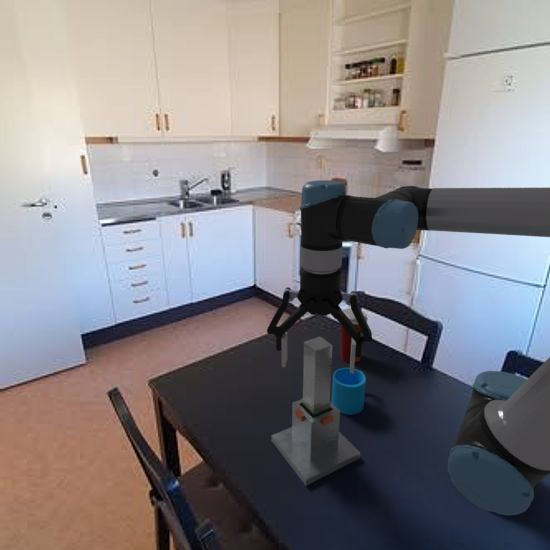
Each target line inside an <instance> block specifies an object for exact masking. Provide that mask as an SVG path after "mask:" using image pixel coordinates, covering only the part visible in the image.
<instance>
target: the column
mask: <svg viewBox="0 0 550 550" xmlns="http://www.w3.org/2000/svg"><path fill="white" fill-rule="evenodd" d="M332 358H333V345H332V343H330V342H328V340H326V339H325V338H323V337H322V336H317V337H315V338H312V339H308V340H305V341H303V371H302V372H303V375H302V376H303V380H302V381H303V383H302V398H301V399H302V404H303V409H304V410H305V411H306V412H307V413H308V414H309V415H310V416H311V417H312V418H315V417H317V416H320V415H322V414H324V413H327V412H329V408H330V405H331V403H332V402H331V382H332V361H333V360H332ZM330 402H331V403H330Z"/></svg>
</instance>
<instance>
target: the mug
mask: <svg viewBox="0 0 550 550" xmlns="http://www.w3.org/2000/svg"><path fill="white" fill-rule="evenodd" d="M366 379H367V377H366V373H365V372H364V371H362V370H359V369H356V368H354V374H353V373H350V367H342V368H338V369H337V370H335V371H334V373H333V374H332V387H331V403H332V404H333V405H334V406H335V407H337V408H338V409H339V410H340V414H343V415H349V416H350V415H356V414H359V413H361V412H362V411H363V409H364V405H365V394H366V384H367V383H366Z"/></svg>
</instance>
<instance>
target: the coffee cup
mask: <svg viewBox="0 0 550 550" xmlns="http://www.w3.org/2000/svg"><path fill="white" fill-rule="evenodd" d="M342 311H343V312H344V314H345V315H346V316H347V317H348V318H349V319H350V321H351V322H352V323H353V324H354V325H355V327H356V328H357V329H358V330H359V331H360V332H361V333H362V331H361V329H360V327H359V325H358V322H357V320H356V318H355V316H354V314H353V312H352V310H351V308H346V309H342ZM361 311H362V313H363V315H364V317H365V319H366V321H368V317H367V313H366V312H365V311H364V310H362V309H361ZM339 324H340V323H339ZM339 327H340V329H339V331H340V358H341V360H342V361H344V362H347V363H349V364H350V359H351V343H352V337H351V336H350V335H349V333H348V332H347V331H346V330H345V329H344V328H343V326H342V325H341V324H340V326H339ZM363 344H364V342H363V343H362V347H364V345H363ZM362 351H363V349H362V350H361V354H362ZM361 357H362V355H361V356H360V357H355V363H357V362H360V360H361Z"/></svg>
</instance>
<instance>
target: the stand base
mask: <svg viewBox="0 0 550 550" xmlns="http://www.w3.org/2000/svg"><path fill="white" fill-rule="evenodd" d="M330 403H331V405H330V408H329V412H327V413H324V414H322V415H320V416H317V417H315V418H312V417H311V416H310V415H309V414H308V413H307V412H306V411H305V410H304V409H303V404H302V398H300V399H298V400H295V401H293V402H292V404H291V405H292V409H291V410H292V411H291V412H292V413H291V414H292V416H291V420H292V421H291V422H292V423H291V427H288V428H287V429H284V430H282V431H281V430H280V431H279V432H277V433H274V434H272V435H271V438H270V439H271V443H272V444H273V445H274V446H275V448H277V450H278V452H279V453H280V454H281V455H282V457H283V458H284V460H285V461H286V462H287V463H288V465H289V466H290V467H291V468H292V470H293V471H294V472H295V474H296V475H297V477H298V478H299V479H300V481H302V483H303V484H304V486H306V487H307V486H309V485H310V484H313V483H314V482H316V481H319V480H321V479H322V478H324V477H326V476H329V475H330V474H332V473H334V472H335V471H338V470H339V469H342V468H344V467H345V466H348V465H350V464H351V463H354V462H355V461H358V460H360V458H361V452H360V451H359V450H358V449H357V448H356V447H355V446H354V444H353V443H351V442H350V441H349V440H348V439H347V438H346V436H344V435H343V434H342V433H341V432H340V422H341V421H340V420H341V419H340V418H341V413H340V410H339V409H338V408H337V407H335V406H334V405H333V404H332V401H330Z"/></svg>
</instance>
